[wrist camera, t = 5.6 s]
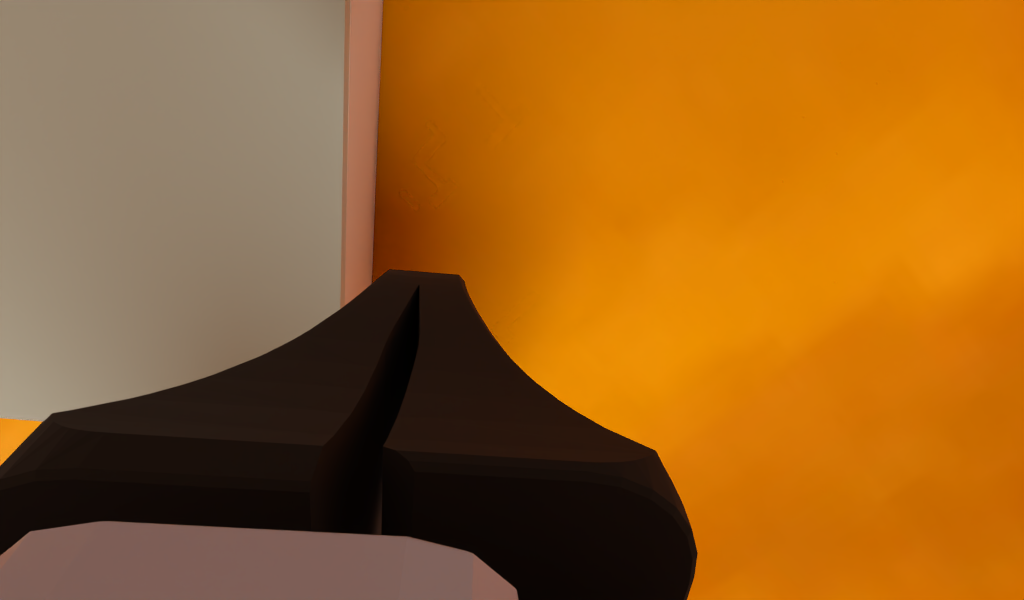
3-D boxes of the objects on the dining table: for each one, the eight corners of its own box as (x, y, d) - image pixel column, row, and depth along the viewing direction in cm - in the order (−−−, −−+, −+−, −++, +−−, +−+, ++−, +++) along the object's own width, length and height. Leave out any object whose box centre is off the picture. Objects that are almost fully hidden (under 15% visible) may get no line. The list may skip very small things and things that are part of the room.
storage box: (369, 345, 24) (342, 432, 19) (-172, 294, 22) (-336, 376, 18) (390, -197, 17) (355, -256, 12) (-396, -326, 15) (-761, -447, 11)
